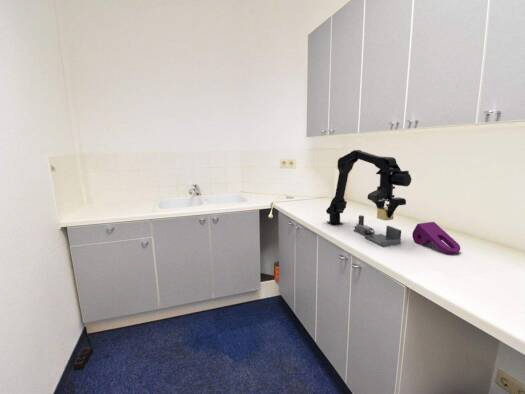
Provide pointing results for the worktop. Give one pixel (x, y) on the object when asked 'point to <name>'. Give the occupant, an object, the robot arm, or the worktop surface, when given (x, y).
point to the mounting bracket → (435, 237)
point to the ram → (361, 225)
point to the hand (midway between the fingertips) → (384, 216)
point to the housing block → (383, 213)
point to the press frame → (382, 236)
